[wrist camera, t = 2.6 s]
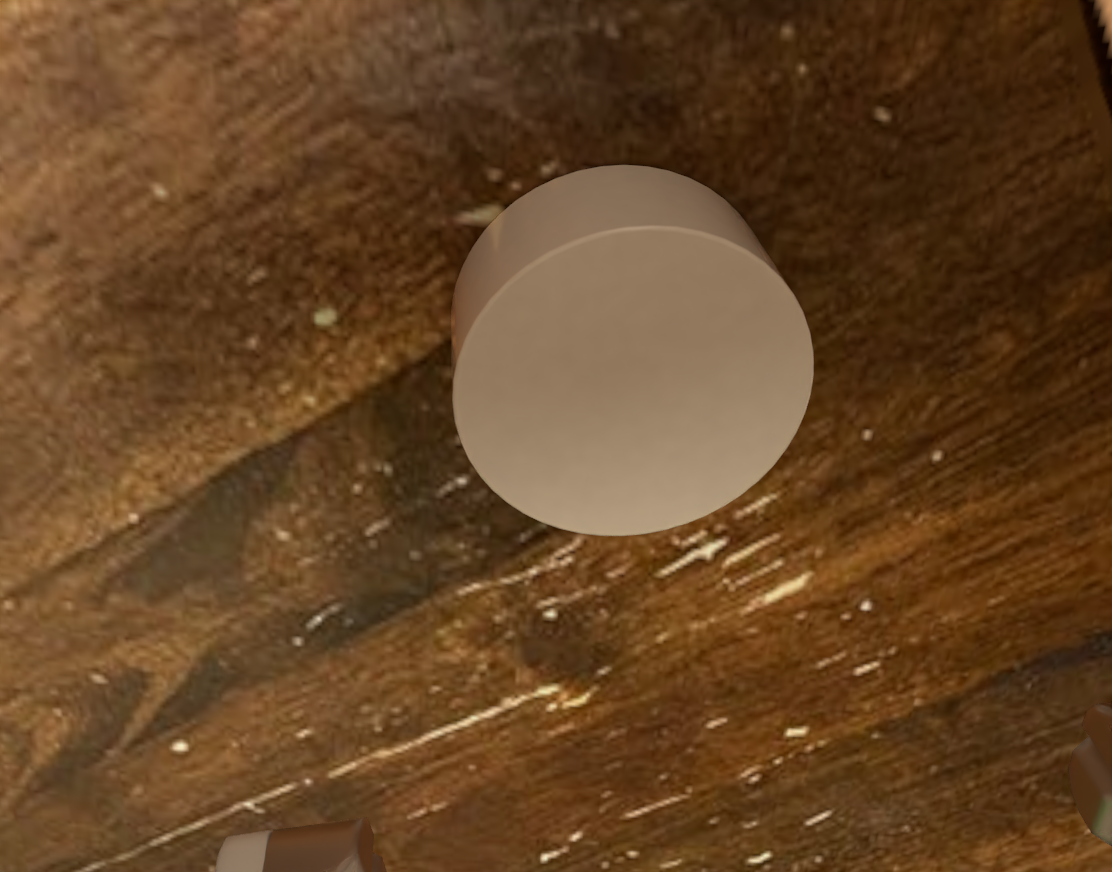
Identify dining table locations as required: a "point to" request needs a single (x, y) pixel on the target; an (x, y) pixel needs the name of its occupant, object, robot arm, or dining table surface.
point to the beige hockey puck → (625, 353)
